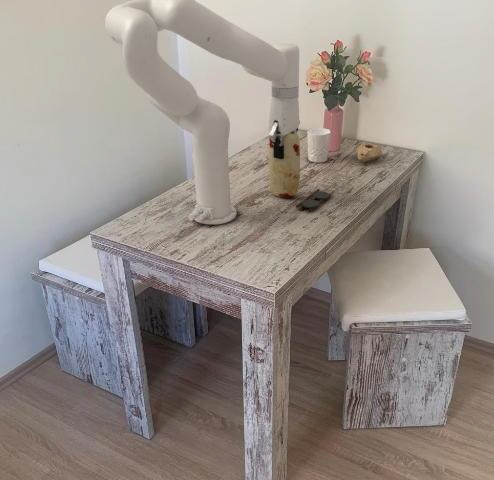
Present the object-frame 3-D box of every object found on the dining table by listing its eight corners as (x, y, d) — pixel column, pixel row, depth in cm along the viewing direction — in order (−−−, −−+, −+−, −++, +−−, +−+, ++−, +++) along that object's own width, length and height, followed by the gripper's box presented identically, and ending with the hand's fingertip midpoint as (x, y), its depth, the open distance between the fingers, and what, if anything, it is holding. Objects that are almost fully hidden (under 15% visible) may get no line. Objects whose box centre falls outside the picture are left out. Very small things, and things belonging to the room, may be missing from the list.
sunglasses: (312, 213, 165) (312, 209, 164) (295, 209, 167) (295, 205, 167) (333, 196, 175) (333, 192, 174) (317, 192, 178) (317, 188, 177)
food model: (265, 197, 175) (264, 132, 164) (273, 189, 180) (273, 126, 169) (295, 202, 172) (296, 136, 161) (303, 194, 177) (304, 129, 166)
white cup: (327, 164, 198) (328, 135, 193) (305, 162, 200) (305, 134, 194) (330, 156, 205) (331, 128, 200) (308, 154, 206) (309, 127, 201)
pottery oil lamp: (348, 164, 197) (346, 143, 197) (364, 165, 207) (362, 145, 206) (371, 159, 192) (369, 138, 191) (386, 161, 202) (384, 141, 201)
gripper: (288, 83, 167) (288, 144, 177) (257, 97, 155) (258, 161, 164) (311, 87, 164) (310, 148, 174) (281, 101, 152) (281, 166, 161)
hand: (284, 154), depth 169 cm, fingers closed on food model, 6 cm apart
